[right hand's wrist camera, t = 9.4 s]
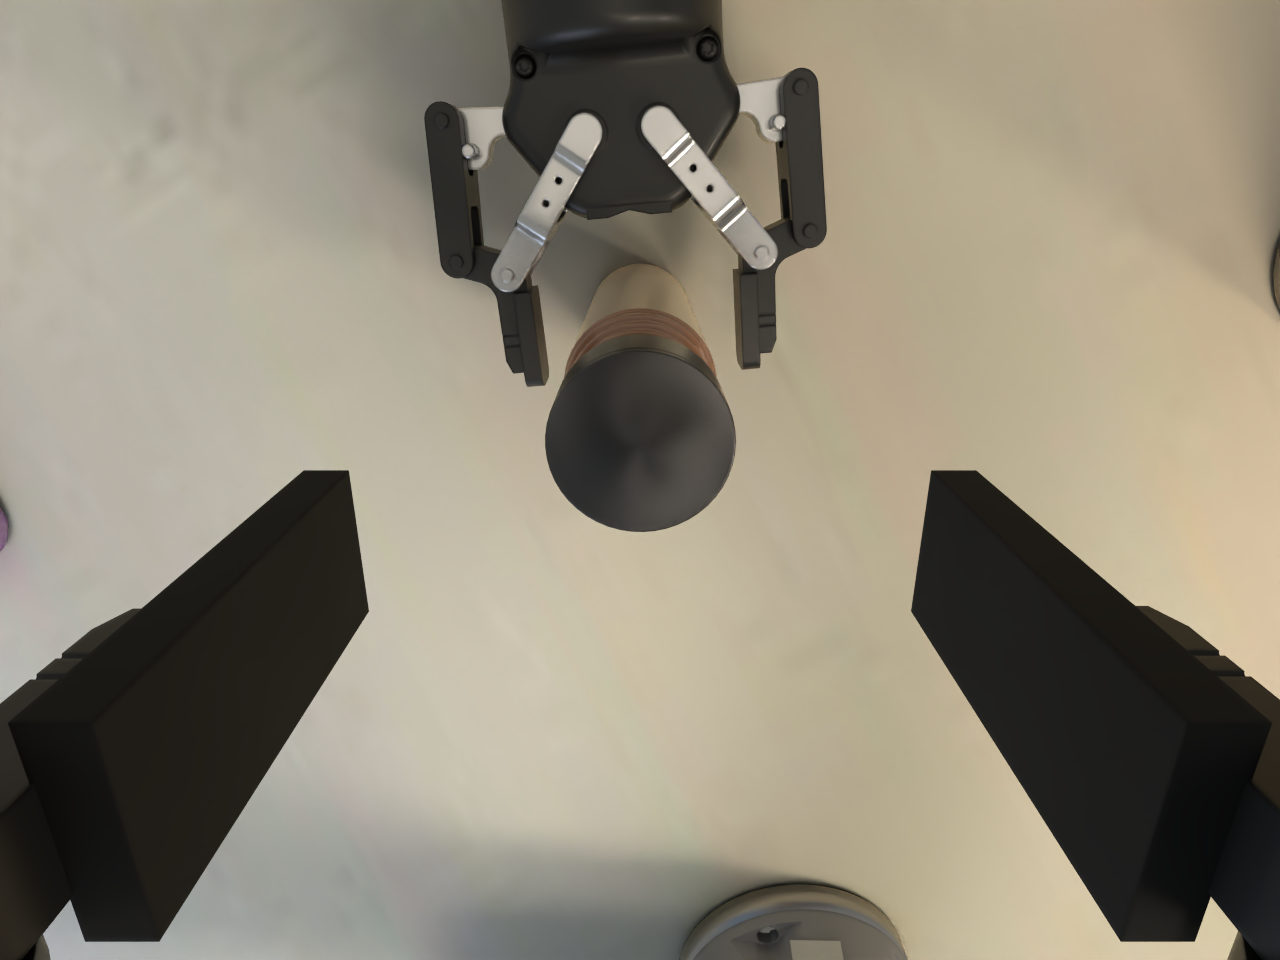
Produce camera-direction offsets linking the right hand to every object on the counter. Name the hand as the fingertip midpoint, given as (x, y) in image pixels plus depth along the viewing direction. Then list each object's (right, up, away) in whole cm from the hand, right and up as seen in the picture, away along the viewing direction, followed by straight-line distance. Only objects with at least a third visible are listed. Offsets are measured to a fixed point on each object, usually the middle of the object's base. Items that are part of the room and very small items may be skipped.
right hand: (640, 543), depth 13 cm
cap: (0, +2, +5) cm, 6 cm away
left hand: (0, +5, +18) cm, 19 cm away
